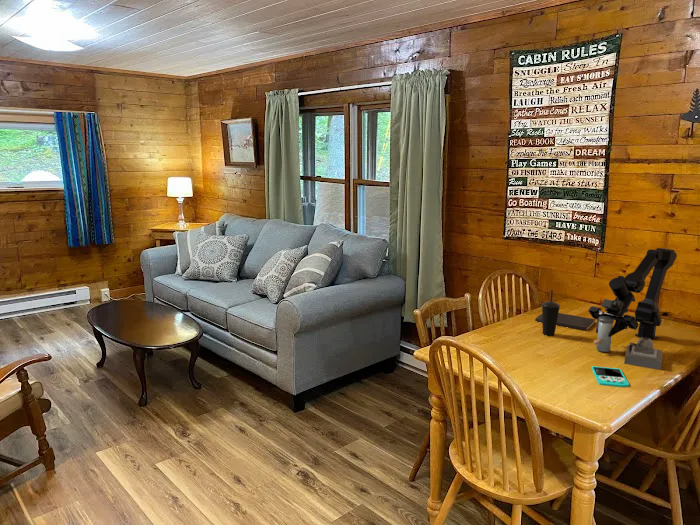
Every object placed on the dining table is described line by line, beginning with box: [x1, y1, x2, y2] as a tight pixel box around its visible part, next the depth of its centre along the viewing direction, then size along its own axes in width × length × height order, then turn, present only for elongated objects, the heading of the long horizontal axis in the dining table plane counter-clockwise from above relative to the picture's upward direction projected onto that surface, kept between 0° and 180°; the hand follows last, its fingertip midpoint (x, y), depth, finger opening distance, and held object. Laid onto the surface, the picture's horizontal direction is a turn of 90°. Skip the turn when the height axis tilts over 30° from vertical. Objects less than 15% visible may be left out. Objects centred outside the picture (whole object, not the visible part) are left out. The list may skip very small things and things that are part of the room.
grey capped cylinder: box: [593, 316, 615, 353], centre depth 214 cm, size 8×5×13 cm, turn 123°
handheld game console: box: [591, 365, 630, 388], centre depth 190 cm, size 10×16×1 cm, turn 165°
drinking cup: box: [541, 289, 561, 337], centre depth 234 cm, size 8×8×20 cm
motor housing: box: [623, 337, 663, 371], centre depth 208 cm, size 20×12×6 cm, turn 150°
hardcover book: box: [534, 312, 597, 332], centre depth 254 cm, size 16×23×2 cm
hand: (602, 334), depth 214 cm, fingers closed on grey capped cylinder, 5 cm apart
